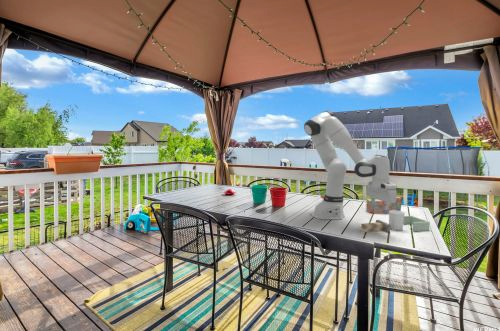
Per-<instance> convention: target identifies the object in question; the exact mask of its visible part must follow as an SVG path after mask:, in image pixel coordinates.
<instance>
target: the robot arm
mask: <svg viewBox="0 0 500 331" xmlns="http://www.w3.org/2000/svg"><path fill="white" fill-rule="evenodd" d="M303 128H304V131H305V133H306V134H307V135H308V136H310V139H311V142H312V144H313V146H314V148H315V150H316V152H317V154H318V156H319V158H320V160H321V163H322V164H323V167H324V170H325V171H326V172H327V179H326V183H325V184H326V186H325V195H320V198H321V199H323V200H322V201H321V202H319V203H318V204H317V205H315V207H314V209H313V210H314V211H313V212H310V216H312V218H316V219H317V220H343V218H345V213H344V195H343V194H344V183H345V178H346V173H347V169H348V168H347V166H346V163H345V162H344V161H342V160H340V159H339V157H338V154H337V151H336V148H335V146H336V147H337V148H339V149H341V150H343V151H344V152H345V153H347V155H348V156H349V157H350V159H351V160H352V162H354V168H353V170H354V173H355V175H356V176H357V177H360V178H368V177H371V181H369V182H368V183H367V186H366V192H365V196H366V197H369V198H370V199H371V201H372V205H374V206H376V202H375V199H378V200H381V201H385V204H386V205H385V206H384V209H385V210H388V208H389V205H390V203H395V202H396V201H397V195H398V192H397V190H396V189H397V187H398V186H397V184H395V183H393V182H392V181H391V179H390V171H391V168H390V167H391V165H390V164H391V163H390V158H389V157H387V156H385V155H380V154H374V155H373V156H370V157H369V158H366V157H365V156H364V155H363V154H362V152H360V150H359V149H358V147H357V146H356V144H355V143H354V141H353V137H352V136H351V133H350V132H349V129H347V127H346V126H345V125H344V123H342V122H341V120H339V119H338V118H337V116H336V114H335V113H334V111H332V110H325V111H322V112H321V113H319V114H316V115H315V116H314V117H312V118H311V119H308V120H306V122H304V125H303ZM334 145H335V146H334Z"/></svg>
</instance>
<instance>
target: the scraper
mask: <svg viewBox="0 0 500 331" xmlns="http://www.w3.org/2000/svg"><path fill="white" fill-rule="evenodd" d="M360 231H361V232H363V233H371V232H372V233H373V232H382V231H383V232H384V233H387V234H388V233H391V229H390V224H389V222H385V221H383V220H380V219H376V220H375V222H369V223H368V222H366V223H364V222H363V223H361V227H360Z"/></svg>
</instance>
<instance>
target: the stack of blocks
mask: <svg viewBox="0 0 500 331" xmlns="http://www.w3.org/2000/svg"><path fill="white" fill-rule="evenodd" d="M375 202H376V206H374V205H372V201H371V198H367V199H366V204H365V207H366V208H365V211H366V212H367V214H379V215H389V211H390V210H396V211H401V210H402V197H400V196H397V201H396V202H395V203H390V205H389V208H388V210H385V209H384V206H385V205H386V204H385V201H381V200H378V199H375Z"/></svg>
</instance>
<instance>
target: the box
mask: <svg viewBox="0 0 500 331" xmlns="http://www.w3.org/2000/svg"><path fill="white" fill-rule="evenodd" d="M403 225H412V228H411V229H412V232H427V231H430V225H431V222H430V221H428V220H425V219H422V218H419V217H417V216H413V215H404V223H403Z"/></svg>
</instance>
